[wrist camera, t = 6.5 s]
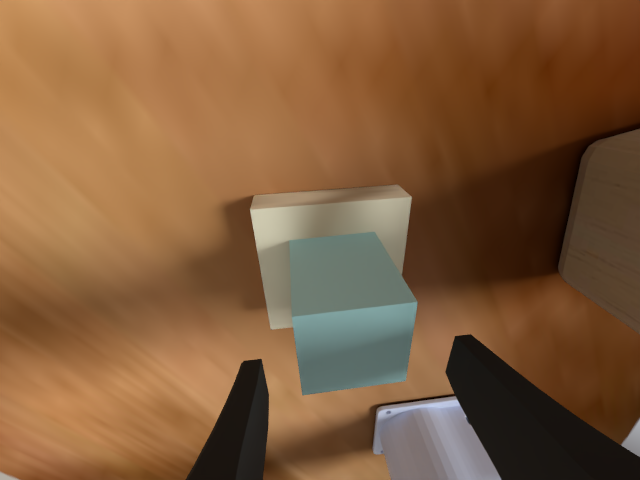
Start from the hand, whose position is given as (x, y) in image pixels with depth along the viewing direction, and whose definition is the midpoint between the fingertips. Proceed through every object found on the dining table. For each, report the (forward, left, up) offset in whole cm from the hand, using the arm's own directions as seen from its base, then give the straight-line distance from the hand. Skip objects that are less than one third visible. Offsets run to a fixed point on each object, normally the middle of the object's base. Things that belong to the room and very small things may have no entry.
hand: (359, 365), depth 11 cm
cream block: (0, 0, -8) cm, 8 cm away
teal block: (0, 0, -6) cm, 6 cm away
